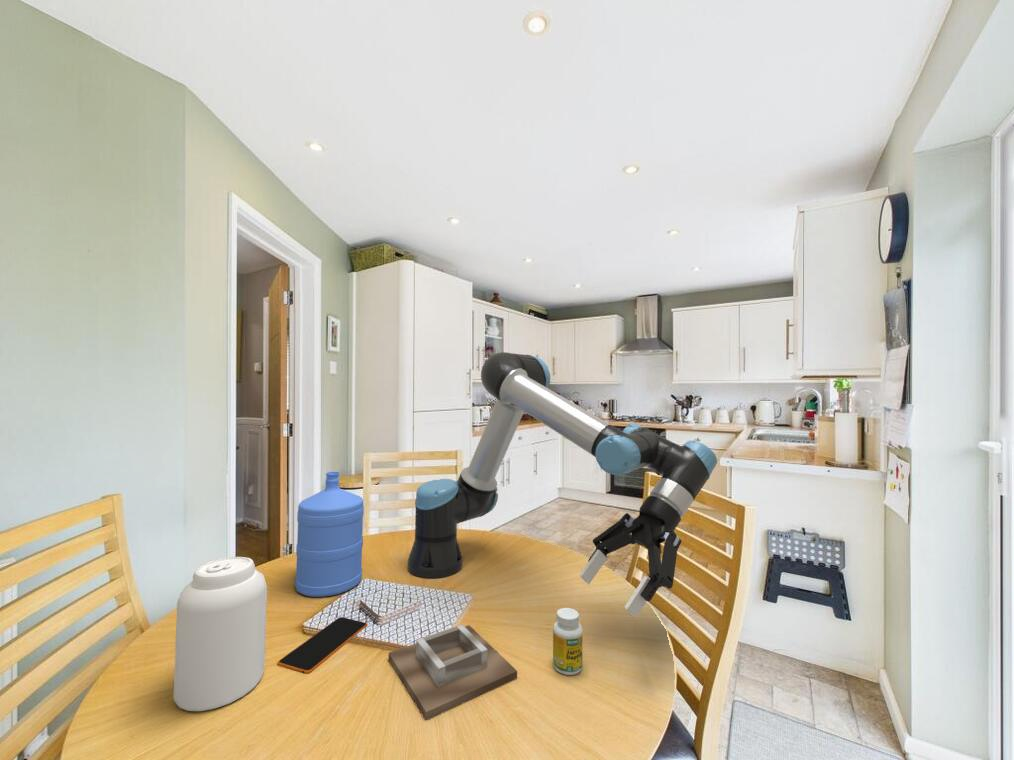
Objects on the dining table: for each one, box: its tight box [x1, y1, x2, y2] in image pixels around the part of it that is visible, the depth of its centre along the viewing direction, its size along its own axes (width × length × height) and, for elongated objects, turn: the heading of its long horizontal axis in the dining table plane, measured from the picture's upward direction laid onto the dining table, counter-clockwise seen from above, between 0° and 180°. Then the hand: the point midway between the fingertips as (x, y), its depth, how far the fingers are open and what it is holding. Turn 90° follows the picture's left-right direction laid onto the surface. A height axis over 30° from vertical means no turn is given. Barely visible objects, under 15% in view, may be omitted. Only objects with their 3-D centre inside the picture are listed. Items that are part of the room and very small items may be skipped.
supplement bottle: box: [552, 607, 584, 676], centre depth 76 cm, size 5×5×10 cm
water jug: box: [294, 471, 365, 598], centre depth 107 cm, size 16×16×28 cm
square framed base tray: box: [387, 624, 518, 721], centre depth 75 cm, size 17×17×4 cm
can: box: [173, 556, 268, 712], centre depth 70 cm, size 12×12×20 cm
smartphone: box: [276, 616, 369, 675], centre depth 82 cm, size 8×17×1 cm, turn 161°
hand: (605, 595), depth 79 cm, fingers open, 13 cm apart
